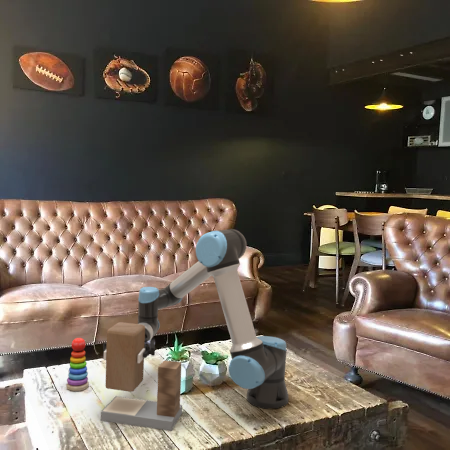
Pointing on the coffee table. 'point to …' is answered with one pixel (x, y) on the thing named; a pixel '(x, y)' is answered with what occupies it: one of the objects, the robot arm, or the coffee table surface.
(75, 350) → the stacking toy
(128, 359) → the block
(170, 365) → the walnut pillar
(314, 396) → the coffee table surface
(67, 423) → the coffee table surface
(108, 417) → the foundation
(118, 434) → the coffee table surface
